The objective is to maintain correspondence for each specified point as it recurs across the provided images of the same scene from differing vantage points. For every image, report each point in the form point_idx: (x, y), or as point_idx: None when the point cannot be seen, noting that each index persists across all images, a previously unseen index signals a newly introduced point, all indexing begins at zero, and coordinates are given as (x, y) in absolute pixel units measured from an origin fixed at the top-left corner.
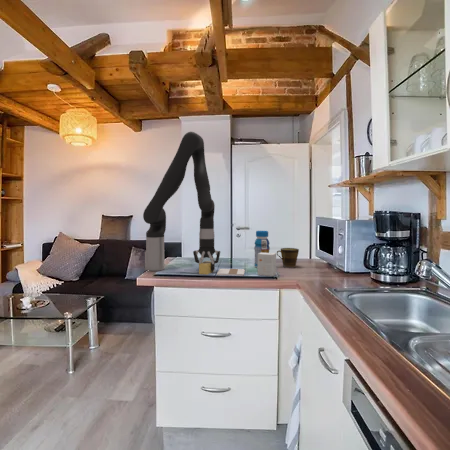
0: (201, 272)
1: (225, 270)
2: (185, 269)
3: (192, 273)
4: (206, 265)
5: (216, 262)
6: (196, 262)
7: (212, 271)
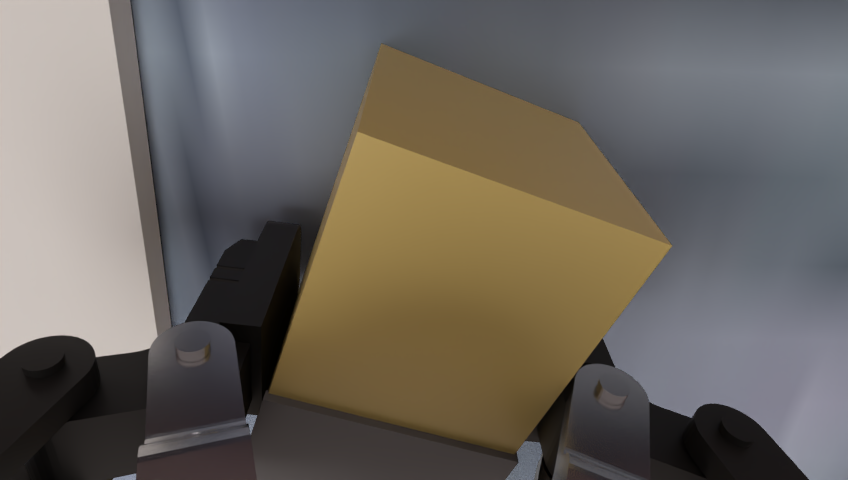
0: (532, 113)
1: (6, 287)
2: None
3: (717, 165)
4: (403, 132)
5: (59, 350)
6: (717, 406)
7: (277, 222)
